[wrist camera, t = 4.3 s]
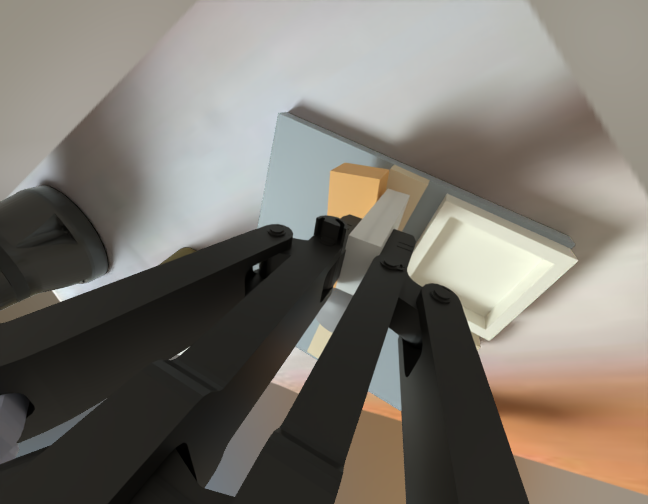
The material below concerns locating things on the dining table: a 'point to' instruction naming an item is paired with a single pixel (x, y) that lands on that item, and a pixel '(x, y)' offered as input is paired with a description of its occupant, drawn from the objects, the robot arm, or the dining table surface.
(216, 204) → the dining table surface
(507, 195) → the dining table surface
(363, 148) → the base plate with blocks
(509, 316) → the socket
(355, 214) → the hinged leg
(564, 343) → the dining table surface
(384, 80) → the dining table surface
